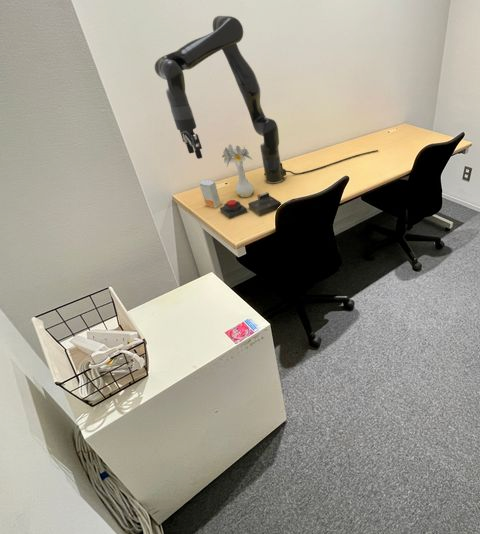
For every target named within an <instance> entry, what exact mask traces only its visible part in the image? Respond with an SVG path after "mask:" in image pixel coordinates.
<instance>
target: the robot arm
mask: <svg viewBox="0 0 480 534" xmlns="http://www.w3.org/2000/svg"><path fill="white" fill-rule="evenodd" d="M243 38H244V28H243V24H242V22H241V21H240V20H239V19H237V18H236V17H234V16H231V15H217V16H215V17H214V18H213V20H212V32H210V33H208V34H206V35H203V36H201V37H198V38H195V39H193V40H191V41H189V42H187V43H186V44H184V45H183V46H181V47H180V48H178V49H177V50H175V51H172V52H170V53H167V54H165V55H163V56H161V57H159V58H158V59H157V60H156V61H155V63H154V71H155V73H156V75H157V76H158V77H159V78H161V79H163V80H165V81H166V83H167V89H166V90H165V94H166V97H167V100H168V104H169V107H170V113H171V115H172V118H173V121H174V124H175V126H176V130H178V131H179V134H180V136H181V140H182V142H183V143H184V145H185V146H186V148H187V151H188V153H189V154H195V156H196V157H195V158H196V159H198V160H199V159H203V154H202V151H201V150H202V149H203V147H202V143H201V141H200V136H199V134H198V133H195V131H194V130H195V129H197V124H196V123H197V122H196V120H195V117H194V113H193V110H192V107H191V106H190V102H189V99H188V96H187V92H186V82H185V75H184V71H187V70H191V69H194V68H195V67H197V66H198V65H199V64H201V63H202V62H203V61H205V60H206V59H208V58H209V57H211V56H212V55H214V54H216V53H218V52H220V51H222V53H223V54H224V56H225V58H226V60H227V62H228V65H229V67H230V70H231V72H232V74H233V77H234V79H235V82H236V85H237V87H238V90H239V92H240V95H241V96H242V98H243V101H244V104H245V106H246V108H247V111H248V113H249V117H250V120H251V123H252V127H253V129H254V131H255V132H256V133H257V135H259V136H261V137H263V142H262V143H261V144H260V147H259V148H260V154H261V159H262V160H261V161H262V165H263V171H264V174H263V175H264V177H265V182H266V183H267V184H272V185H274V184H280V183H282V182H283V181H284V180H285V176H287V173H290V174H292V175H295V176H296V175H303V174H306V173H310V172H313V171H316V170H320V169H323V168H326V167H329V166H332V165H334V164H337V163H341V162H343V161H347V160H349V159H352V158H355V157H359V156H364V155H367V154H371V153H376V152H378V151H379V149H375V150H371V151H367V152H363V153H359V154H355V155H352V156H349V157H345V158H343V159H340V160H338V161H335V162H331V163H328V164H326V165H323V166H319V167H315V168H313V169H310V170H306V171H302V172H297V173H296V172H293V171H291V170H287V169H285V168H283V163H282V162H281V155H280V150H279V145H280V136H279V134H280V133H279V127H278V124H277V122H276V121H275V120H274V119H272V118H270V117H267V116H266V114H265V113H264V111H263V108H262V105H261V87H260V83H259V81H258V79H257V76H256V74H255V71H254V70H253V69H252V67H251V66H250V64H249V63H248V61H246V60H247V59H245V57H244V56H243V54H242V53H241V51H240V49H239V47H238V43H240V42H241V41H242V39H243Z"/></svg>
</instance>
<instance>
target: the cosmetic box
mask: <svg viewBox="0 0 480 534" xmlns="http://www.w3.org/2000/svg"><path fill="white" fill-rule="evenodd" d="M198 184H199V187H200V191H201V194H202V197H203V201H204V204H205V206H207V207H211V208H215V209H217V208H218V207H219V206H221V204H222V203H221V199H220V196H219V193H218V189H217V185H216V182H215V181H212V180H206V179H204V180H202V181H201V182H199V183H198Z"/></svg>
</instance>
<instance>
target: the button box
mask: <svg viewBox="0 0 480 534" xmlns="http://www.w3.org/2000/svg"><path fill="white" fill-rule="evenodd" d="M236 202H237V206H235V207H228V206H227V202H226V203H224V205H223V206H221V207H219V211H220V213H222V214H223V215H224V216H225V217H227V218H228V219H230V220H232V219H234V218H236V217H238V216H241V215H244V214H247V213H248V209H247V207H245V206H244V205H242V204H241V202H240V201H238V200H236Z"/></svg>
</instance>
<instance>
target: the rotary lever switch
mask: <svg viewBox="0 0 480 534" xmlns="http://www.w3.org/2000/svg"><path fill="white" fill-rule="evenodd" d="M269 197H270V202H267V203H265V204H262V205H260V204H259V203H258V199H256V200H253V201H250V202H248V203H247V205H248V209H249V210H250V211H252V212H253V213H255V214H257V216H259V217H262V216H266V215H267V214H270V213H272V212H275V211H277V210H278V209H277V208H278V207H279V206H280V205H281V206H282V202H281V201H279V200H278V199H277V198H275V197H272V195H270V194H269Z"/></svg>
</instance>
